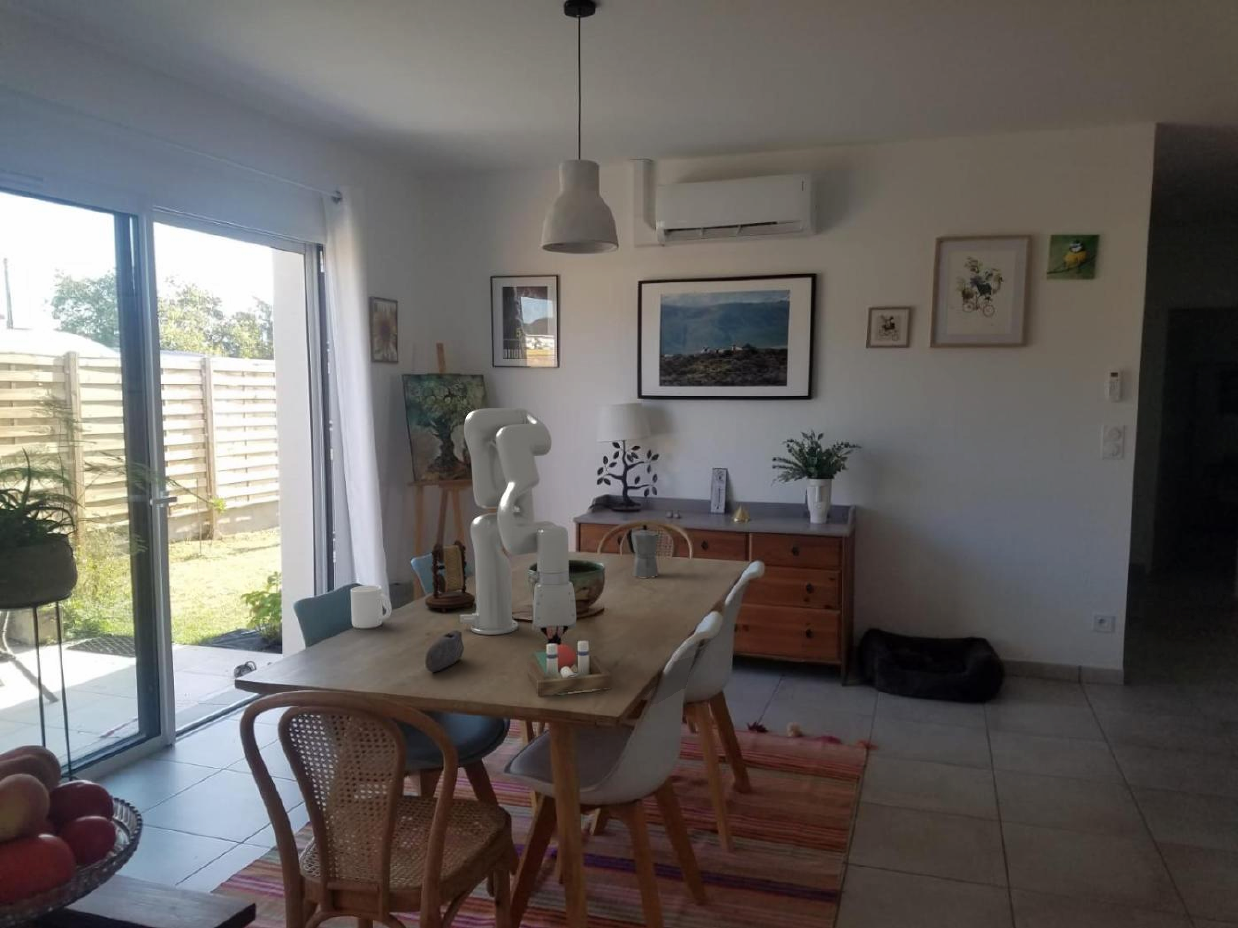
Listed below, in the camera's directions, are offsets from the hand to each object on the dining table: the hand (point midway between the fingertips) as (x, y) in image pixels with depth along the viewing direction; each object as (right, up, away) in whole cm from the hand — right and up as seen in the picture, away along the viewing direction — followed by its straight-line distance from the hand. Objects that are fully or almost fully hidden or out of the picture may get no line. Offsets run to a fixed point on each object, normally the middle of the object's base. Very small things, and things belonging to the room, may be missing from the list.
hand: (554, 652), depth 200 cm
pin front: (+3, -1, -13) cm, 13 cm away
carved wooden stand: (-35, +2, +51) cm, 62 cm away
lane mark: (+2, -2, -9) cm, 10 cm away
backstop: (+4, -3, -16) cm, 17 cm away
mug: (-53, 0, +31) cm, 62 cm away
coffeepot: (+24, +6, +91) cm, 94 cm away
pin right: (+8, -3, -15) cm, 17 cm away
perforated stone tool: (-26, -3, -4) cm, 26 cm away
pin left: (+1, -3, -16) cm, 17 cm away
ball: (+3, +1, -8) cm, 9 cm away
